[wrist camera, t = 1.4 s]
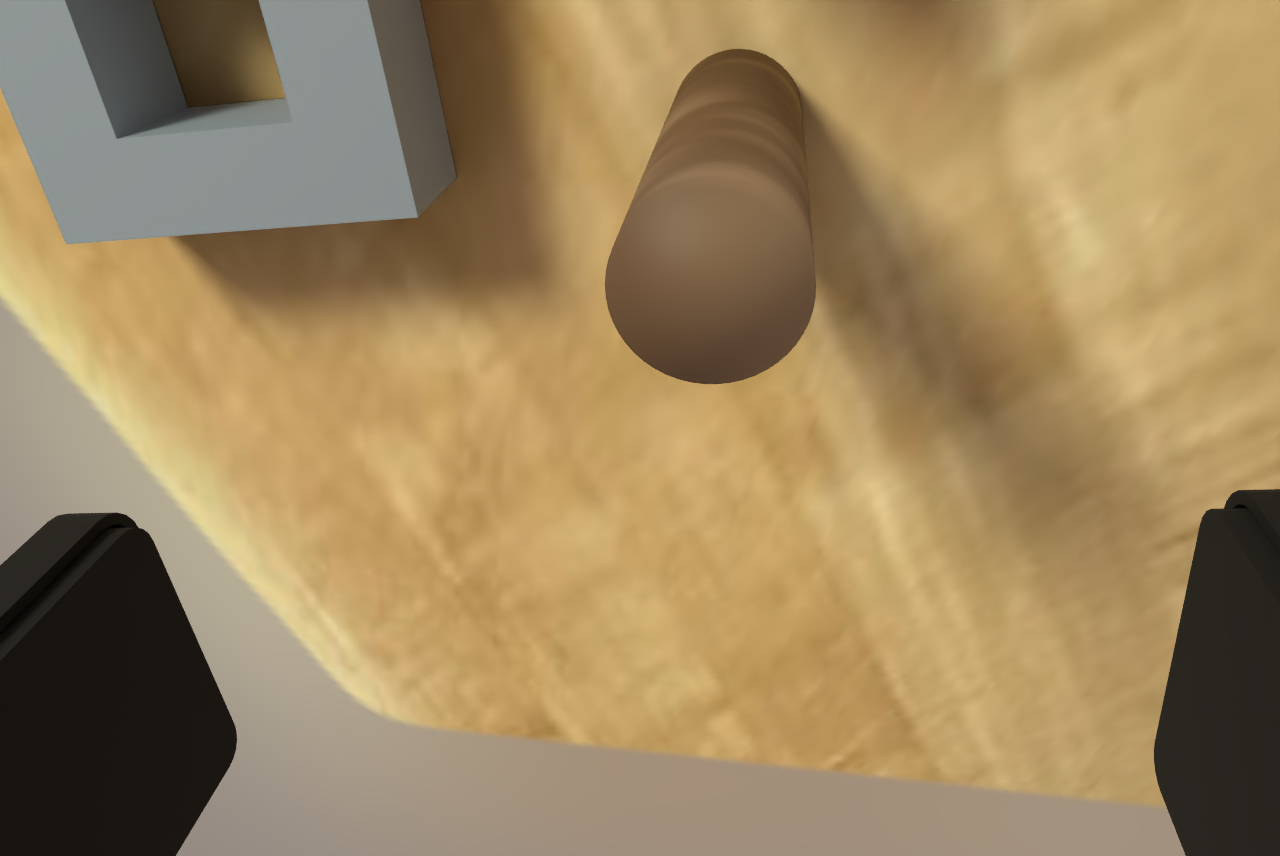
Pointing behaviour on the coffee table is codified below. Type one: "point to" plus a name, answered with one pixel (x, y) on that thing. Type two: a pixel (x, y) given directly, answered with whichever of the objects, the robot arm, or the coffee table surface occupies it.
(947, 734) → the coffee table surface
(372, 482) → the coffee table surface
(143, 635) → the robot arm
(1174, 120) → the coffee table surface
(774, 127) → the tall dowel
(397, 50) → the hole block
